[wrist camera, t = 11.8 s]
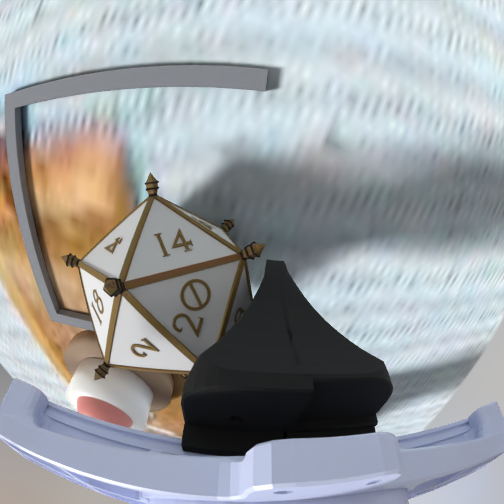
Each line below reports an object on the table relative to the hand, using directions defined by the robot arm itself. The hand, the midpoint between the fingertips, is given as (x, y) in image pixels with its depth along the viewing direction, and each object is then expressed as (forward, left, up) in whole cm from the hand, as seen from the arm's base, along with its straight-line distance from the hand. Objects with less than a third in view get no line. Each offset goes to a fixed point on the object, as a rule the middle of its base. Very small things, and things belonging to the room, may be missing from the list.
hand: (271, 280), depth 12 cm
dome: (-14, +11, -2) cm, 18 cm away
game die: (-1, +4, -4) cm, 6 cm away
